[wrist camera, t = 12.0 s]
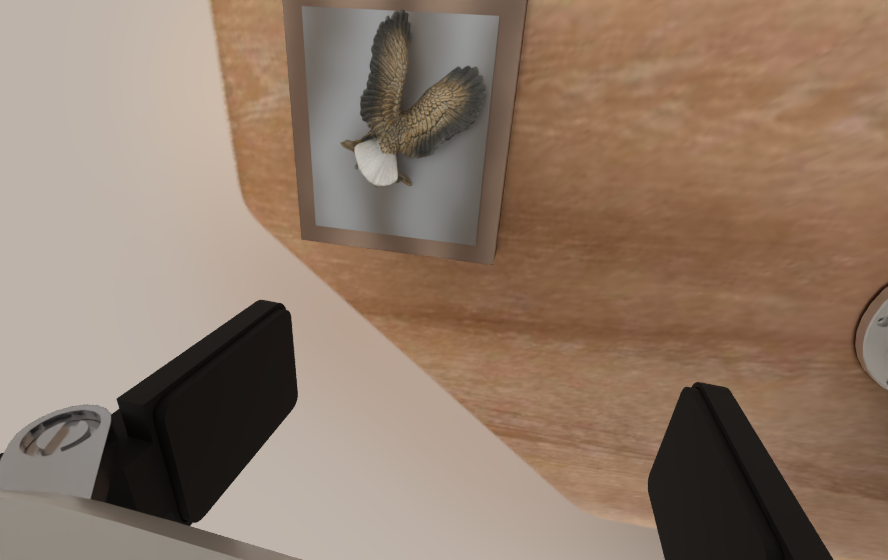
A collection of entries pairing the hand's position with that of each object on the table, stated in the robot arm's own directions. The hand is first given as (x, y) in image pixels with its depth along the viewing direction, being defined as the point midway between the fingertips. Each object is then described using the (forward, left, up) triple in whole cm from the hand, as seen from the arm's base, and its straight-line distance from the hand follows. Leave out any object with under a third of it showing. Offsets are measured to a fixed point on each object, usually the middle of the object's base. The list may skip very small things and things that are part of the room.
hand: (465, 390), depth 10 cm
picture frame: (+8, -3, -25) cm, 27 cm away
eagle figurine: (+10, -6, -20) cm, 23 cm away
